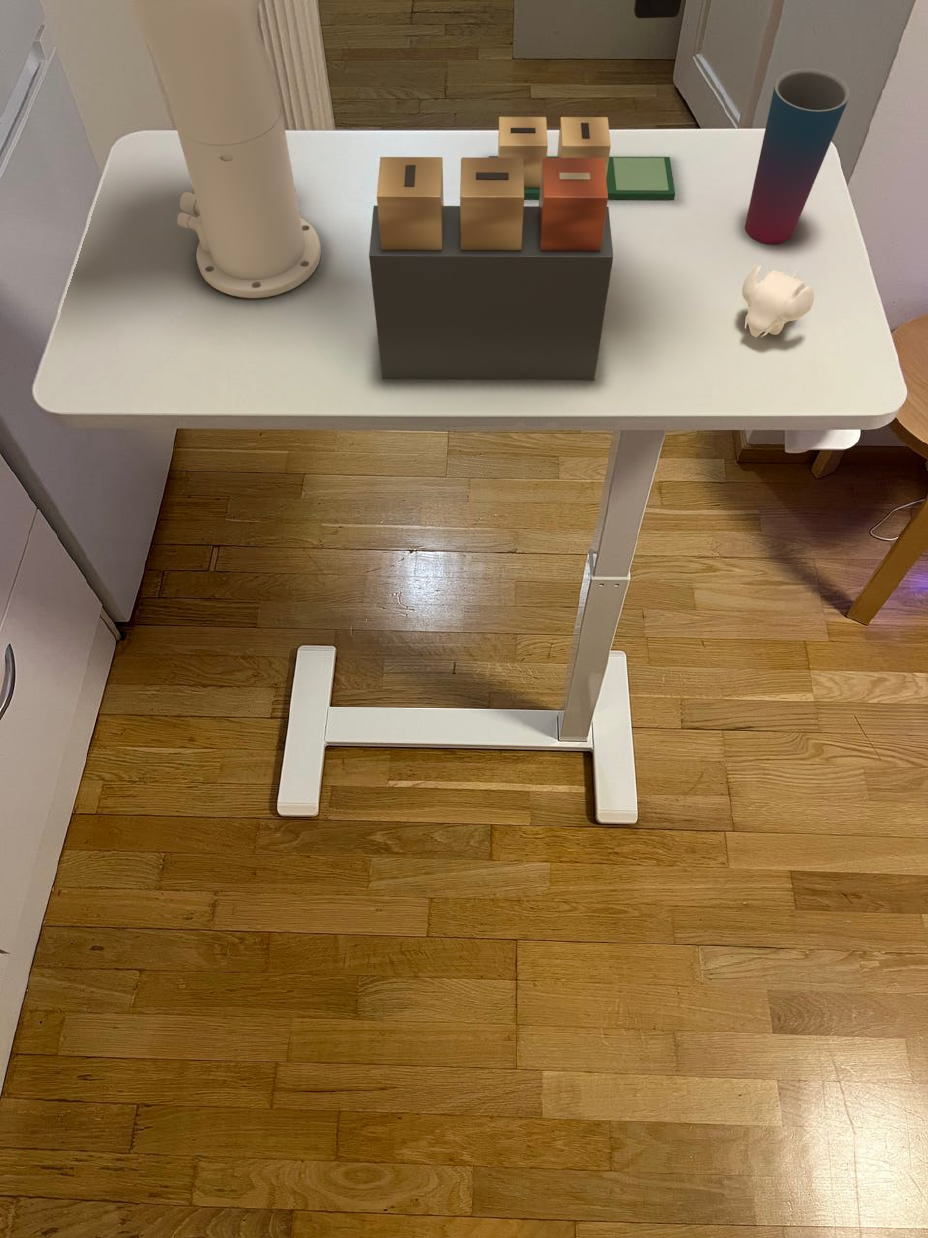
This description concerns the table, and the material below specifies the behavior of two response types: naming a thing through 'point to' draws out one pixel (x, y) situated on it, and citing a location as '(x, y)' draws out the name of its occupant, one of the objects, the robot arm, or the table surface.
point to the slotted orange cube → (572, 204)
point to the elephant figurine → (774, 301)
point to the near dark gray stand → (479, 279)
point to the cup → (793, 150)
